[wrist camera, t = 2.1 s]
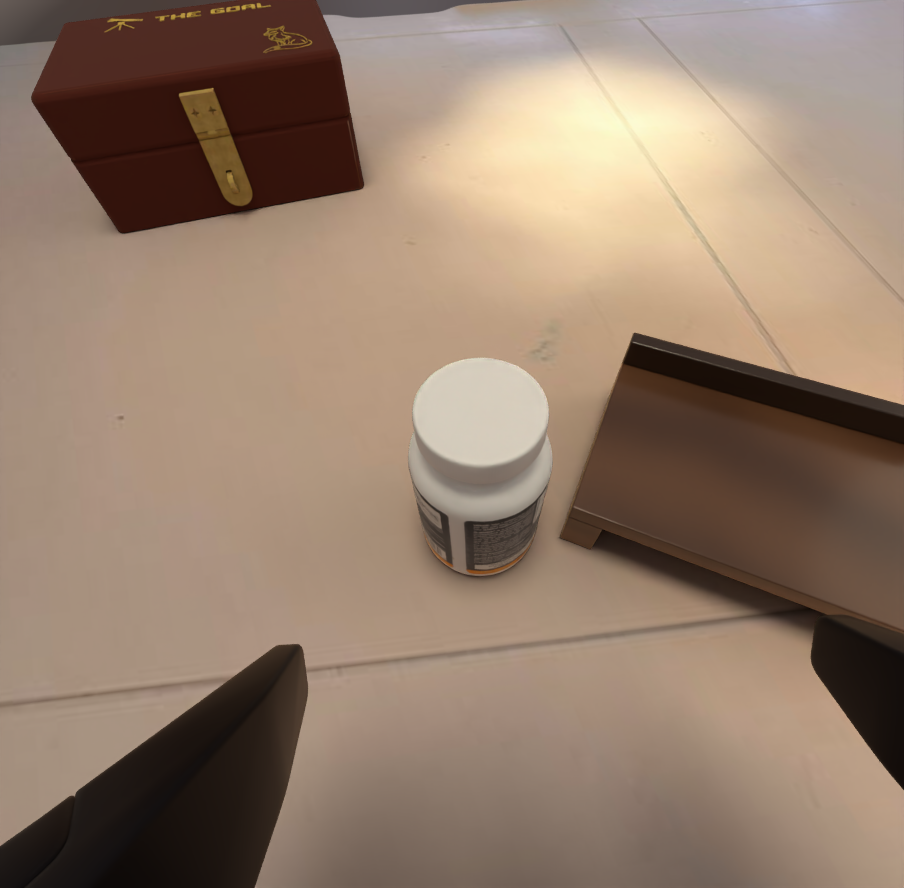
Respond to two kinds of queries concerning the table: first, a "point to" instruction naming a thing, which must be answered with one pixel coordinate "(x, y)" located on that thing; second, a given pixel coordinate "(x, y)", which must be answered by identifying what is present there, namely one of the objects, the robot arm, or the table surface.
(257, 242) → the table surface
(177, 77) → the box
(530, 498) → the pill bottle
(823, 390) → the shelf
